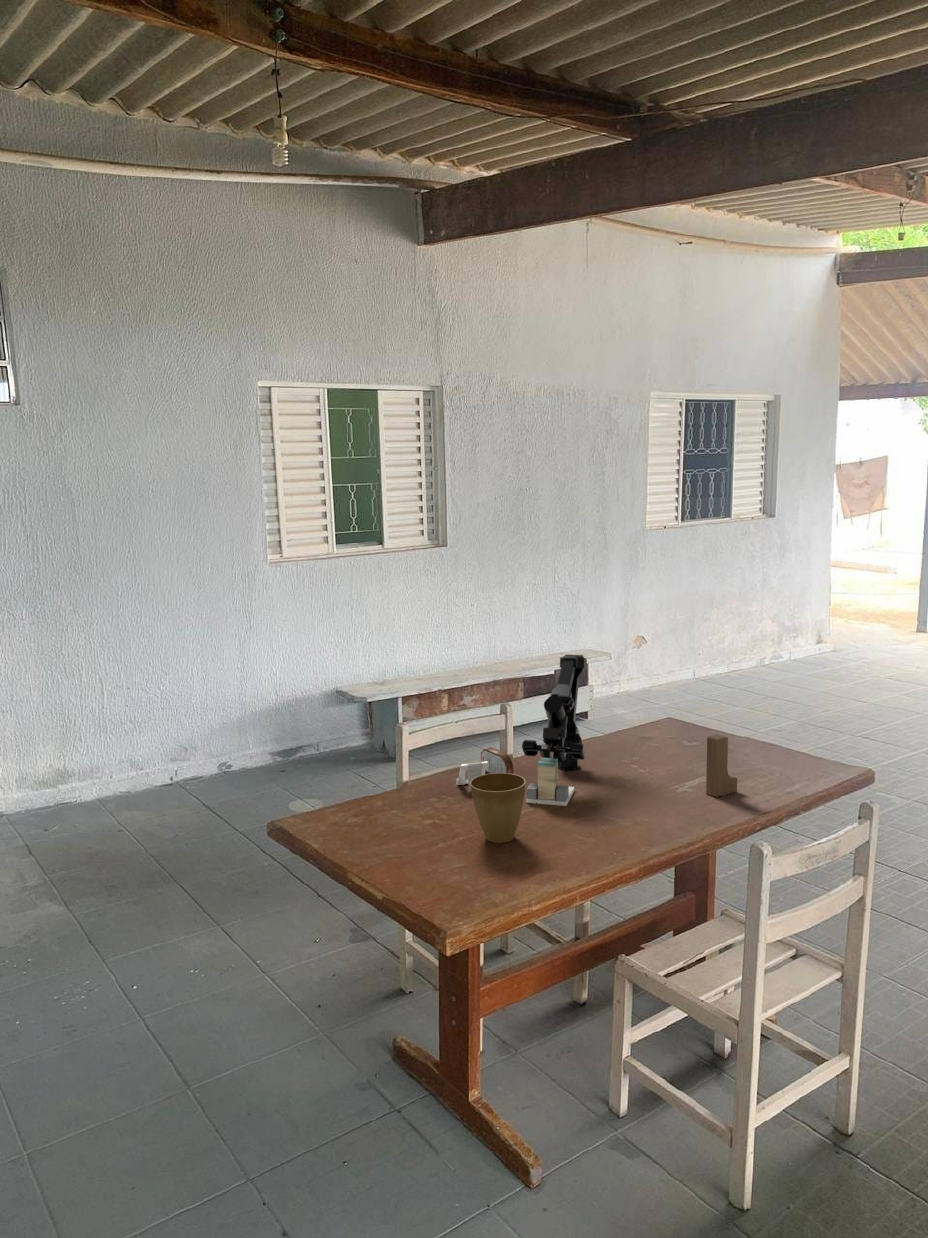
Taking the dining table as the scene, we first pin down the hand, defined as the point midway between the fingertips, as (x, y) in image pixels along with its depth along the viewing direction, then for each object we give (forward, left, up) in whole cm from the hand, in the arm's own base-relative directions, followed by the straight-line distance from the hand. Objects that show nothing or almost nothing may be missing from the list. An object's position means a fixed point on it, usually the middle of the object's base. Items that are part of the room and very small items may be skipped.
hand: (549, 774), depth 277 cm
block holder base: (-1, +1, -7) cm, 7 cm away
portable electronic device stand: (-21, -15, -8) cm, 27 cm away
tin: (-27, -3, -8) cm, 28 cm away
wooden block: (+24, +46, -7) cm, 52 cm away
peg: (+2, -2, -6) cm, 6 cm away
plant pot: (+19, -29, -7) cm, 35 cm away
